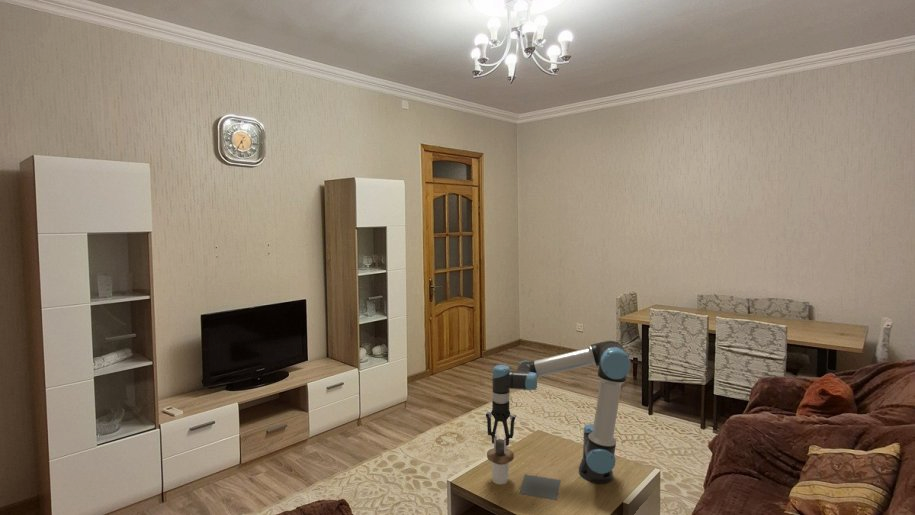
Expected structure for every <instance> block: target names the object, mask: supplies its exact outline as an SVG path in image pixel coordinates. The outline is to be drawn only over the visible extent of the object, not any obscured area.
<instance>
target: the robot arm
mask: <svg viewBox="0 0 915 515" xmlns="http://www.w3.org/2000/svg"><path fill="white" fill-rule="evenodd" d="M592 365H593V366H594V367H598V369H597V377H598V378H599V380H600V381H599V388H598V394H597V400H596V408H595V414H594V420H593V423H590V424H586V425H584V426H583V446H582V448H583V450H582V458H581V461H580V463H579V466H578V474H579V476H580V477H581V478H582V479H583V480H585V481H587V482H590V483H593V484H607V483H609V481H610V482H611V481H613V478H614V476H613V475H614V473H613V470H614V468H615V466H616V458H615V457H616V456H615V453H616V446H617V440H616V439H615V437H614V434H615V428H616V421H617V417H618V416H617V415H618V410H619V404H620V403H619V402H620V396H621V390H622V385H623V384H624V383H626V381H627V376H628V374H629V372H630V371H631V366H632V365H631V359H630V355H628V353H627V352H626V350H625V347H624V346H623V345H622V344H621V343H619V342H618V341H615V340H606V341H605V340H604V341H601V342H597V343H596V342H595V343H592V344H589V345H588V347H587V348H586V347H585V348H581V349H578V350H573V351H569V352H565V353H561V354H557V355H553V356H549V357H545V358H540V359H537V360H532V361H530V360H522V361H520V362H519V364H518V366H517V367H516V371H515V370H514V371H513V370H511V369H510V366H508V365H505V364H497V365H495V366H494V367H493V369H492V397H491V398H492V404H491V405H492V410H491V411H487V412H486V413H485V417H486V424H487V425H486V426H487V427H486V428H487V436H490V437H491V444H492V445H493V448H494V452H496V440H498V435H496V433H497V427H498V423H499V422H500V423H501V422H502V425H503V430H504V436H505V437H504V439H503V440H504V453H505V454H506V452H507V449H508V447H509V445H510V439H513V437H514V433H515V432H514V430H515V419H516V418H517V415H516V414H511V412H510V398H511V397H510V393H511V392H510V389H511V390H512V389H513V390H524V391H536V390H537V388H538V378H540V377H543V376H547V375H549V376H550V375H552V374H556V373H562V372H566V371H571V370H575V369H578V368H584V367H588V366H592ZM492 417H493V419H494V423H493V427H492ZM508 419H510V428H509V426H508ZM509 429H510V430H509Z"/></svg>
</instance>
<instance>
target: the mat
mask: <svg viewBox="0 0 915 515" xmlns="http://www.w3.org/2000/svg"><path fill="white" fill-rule="evenodd" d="M560 484H561V479H556V478H551V477H543V476H537V475H530V474H524V477H523V480H522V483H521V487H520V490H519V493H518V494H519V495H523V496H531V497H535V498H543V499H549V500H552V501H553V500H554V501H558V497H559V490H560Z"/></svg>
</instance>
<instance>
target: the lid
mask: <svg viewBox="0 0 915 515" xmlns="http://www.w3.org/2000/svg"><path fill="white" fill-rule="evenodd" d="M486 458H487V460H489V462H491V463H492V462H494V463H499V464H504V463H509V464H510V463H511V462H512V461H514V458H515V454H514V451H512V450H511V449H508V448H507V452H506V454H505V453H504V439H501V438H497V440H496V452H494V447H493V448H491V449H489V450H488V451H487V452H486Z"/></svg>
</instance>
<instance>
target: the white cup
mask: <svg viewBox="0 0 915 515" xmlns="http://www.w3.org/2000/svg"><path fill="white" fill-rule="evenodd" d="M509 465H510V462H509V463H504V464H499V463H494V462H491V475H492V477H491V480H492V482H493V483H494V484H497V485H504V484H508V480H509V471H510V470H509V469H510V466H509Z"/></svg>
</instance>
